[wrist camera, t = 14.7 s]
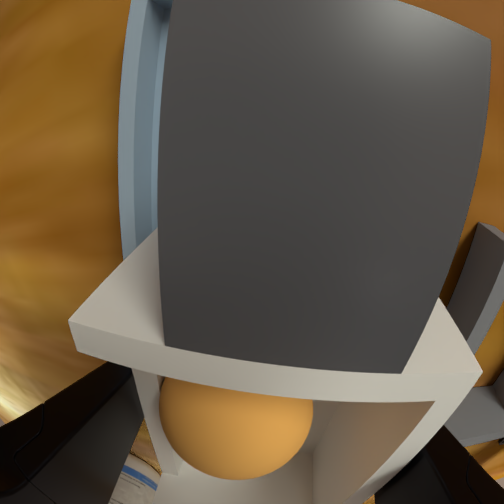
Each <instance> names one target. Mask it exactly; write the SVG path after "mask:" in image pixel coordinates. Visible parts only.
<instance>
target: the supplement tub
mask: <svg viewBox="0 0 504 504" xmlns="http://www.w3.org/2000/svg"><path fill="white" fill-rule="evenodd" d="M160 477H161V476H160V475H159V474H158V472H157V471H155V470H154V469H153V468H152V467H151V466H150V465H149V464H147V463H146V462H144V461H143V460H141V459H139V458H137V457H135V456H134V455H132V454H130V453H129V454H128V457H127V459H126V462H125V464H124V466H123V469H122V471H121V474H120V476H119V479H118V481H117V484H116V486H115V488H114V491H113V493H112V496H111V498H110V501H109V504H152V502H153V499H154V496H155V493H156V490H157V487H158V483H159V480H160Z"/></svg>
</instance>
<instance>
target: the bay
mask: <svg viewBox="0 0 504 504" xmlns="http://www.w3.org/2000/svg"><path fill="white" fill-rule="evenodd" d="M503 300H504V233H502V232H501V231H500V230H498V229H497V228H496V227H494V226H492V225H488V224H484V223H480V222H478V226H477V229H476V232H475V235H474V238H473V241H472V244H471V247H470V250H469V253H468V256H467V259H466V262H465V264H464V267H463V270H462V272H461V275H460V278H459V280H458V283H457V285H456V288H455V290H454V292H453V295H452V297H451V299H450V302H449V304H448V306H447V311H448V313H449V314H450V316H451V317H452V319H453V321H454V322H455V324H456V326H457V327H458V329H459V330H460V332H461V334H462V335H463V337H464V339H465V341H466V342H467V344H468V346H469V347H470V349H471V351H472V353H473V355H475V353H476V351H477V350H478V348H479V346H480V344H481V343H482V341H483V339H484V337H485V336H486V334H487V332H488V330H489V328H490V326H491V324H492V322H493V321H494V319H495V317H496V315H497V313H498V311H499V309H500V306H501V304H502V302H503ZM444 425H445V427H446V428H447V429H448V430H449V431H450V432H451V433H452V434H453V435H454V437H455V438H456V439H457V440H458V441H459V442H460V443H461V444H462V445H463V447H466V446H471V445H475V444H480V443H484V442H488V441H492V440H495V439H499V438H503V437H504V370H503V371H502V373H501V374H500V376H499V377H498V379H497V380H496V381H495V383H494V384H493V386H484V387H475V388H471V390H470V391H469V393H468V394H467V395H466V397H465V398H464V399H463V401H462V402H461V403H460V405H459V406H458V407H457V408H456V410H455V411H454V412H453V414H452V415H451V416H450V417H449V418H448V420H447V421H446V422H445V423H444Z"/></svg>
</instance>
